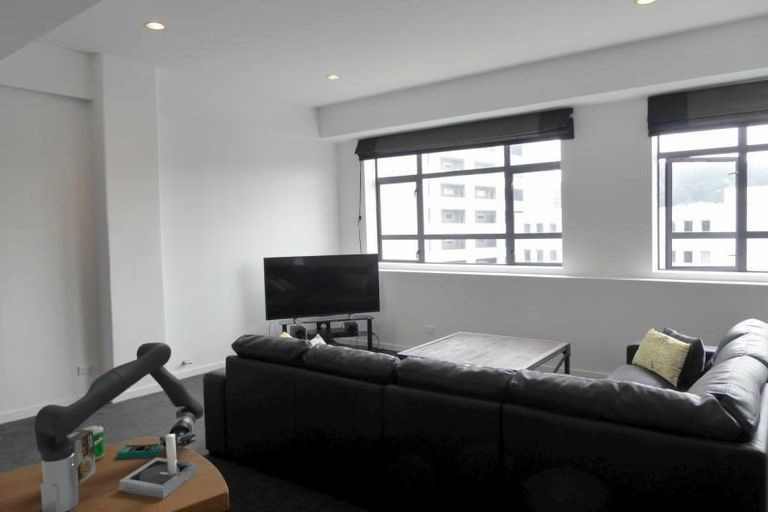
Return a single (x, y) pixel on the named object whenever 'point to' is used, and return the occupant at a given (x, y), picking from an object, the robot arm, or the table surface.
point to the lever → (164, 471)
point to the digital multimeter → (139, 451)
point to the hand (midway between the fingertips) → (172, 449)
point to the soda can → (97, 440)
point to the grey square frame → (158, 490)
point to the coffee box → (83, 454)
